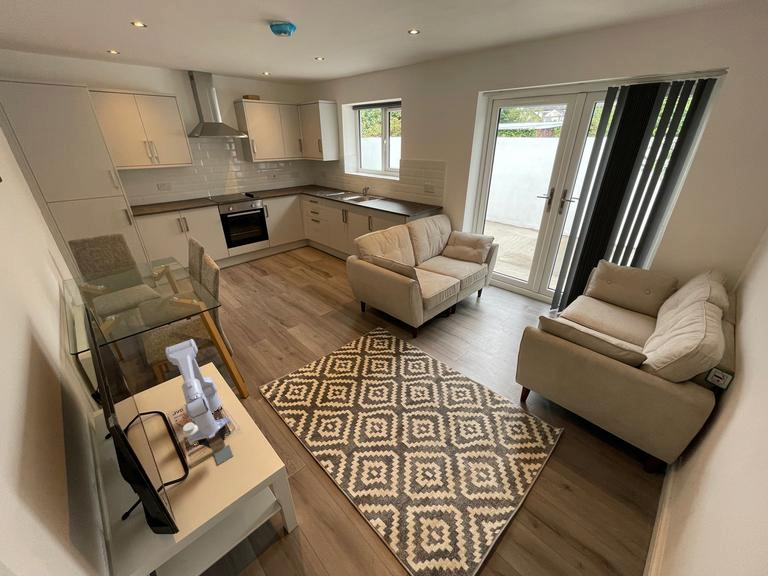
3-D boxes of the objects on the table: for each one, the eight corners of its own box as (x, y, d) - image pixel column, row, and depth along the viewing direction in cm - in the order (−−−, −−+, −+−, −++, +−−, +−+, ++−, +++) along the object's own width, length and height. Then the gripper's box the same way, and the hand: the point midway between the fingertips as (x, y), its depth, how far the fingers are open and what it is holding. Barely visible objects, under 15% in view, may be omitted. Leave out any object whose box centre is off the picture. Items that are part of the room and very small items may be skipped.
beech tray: (182, 439, 132) (181, 437, 131) (215, 422, 139) (214, 420, 138) (189, 468, 122) (188, 466, 121) (224, 447, 129) (223, 445, 128)
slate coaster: (214, 453, 127) (213, 453, 127) (229, 445, 130) (228, 444, 130) (217, 465, 123) (217, 464, 123) (233, 456, 126) (232, 455, 126)
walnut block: (210, 444, 123) (206, 436, 120) (222, 437, 125) (218, 429, 122) (213, 452, 120) (209, 445, 117) (225, 445, 122) (221, 438, 119)
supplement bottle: (198, 446, 130) (190, 433, 124) (186, 445, 130) (178, 431, 125) (205, 434, 134) (198, 421, 129) (194, 433, 135) (186, 420, 129)
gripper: (186, 441, 108) (198, 461, 115) (228, 418, 115) (238, 438, 123) (182, 427, 112) (195, 447, 120) (223, 405, 120) (233, 426, 127)
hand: (216, 442), depth 121 cm, fingers closed on walnut block, 4 cm apart
